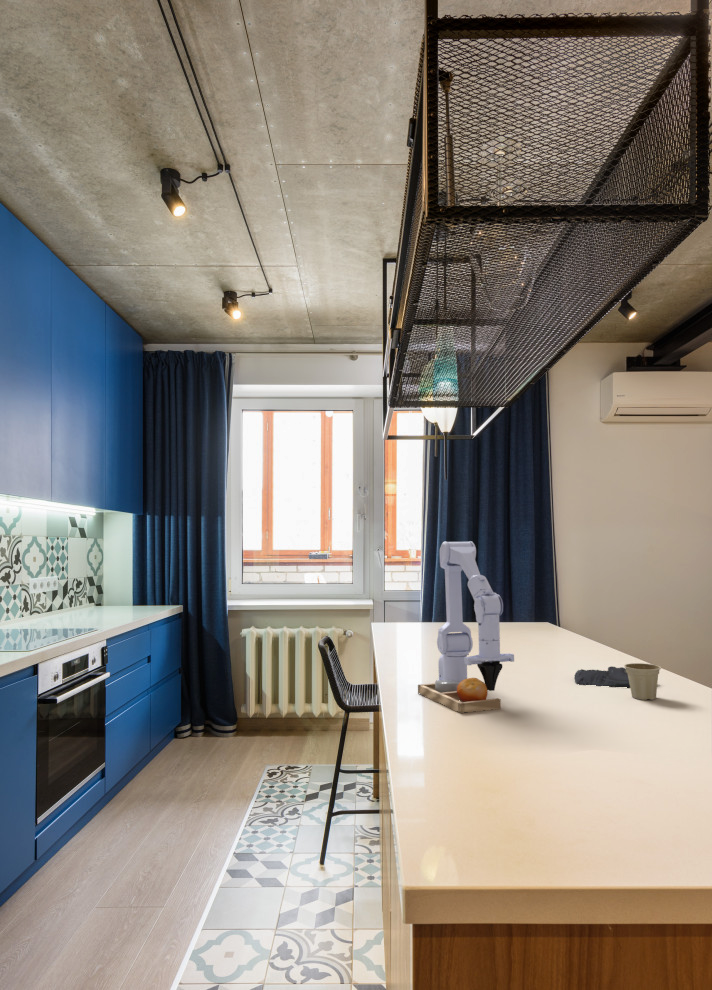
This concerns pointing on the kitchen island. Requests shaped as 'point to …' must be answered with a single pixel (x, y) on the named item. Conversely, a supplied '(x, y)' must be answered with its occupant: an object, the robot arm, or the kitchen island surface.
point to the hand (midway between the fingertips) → (490, 690)
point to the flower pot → (643, 680)
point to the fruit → (472, 690)
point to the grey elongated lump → (603, 677)
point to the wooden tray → (457, 700)
